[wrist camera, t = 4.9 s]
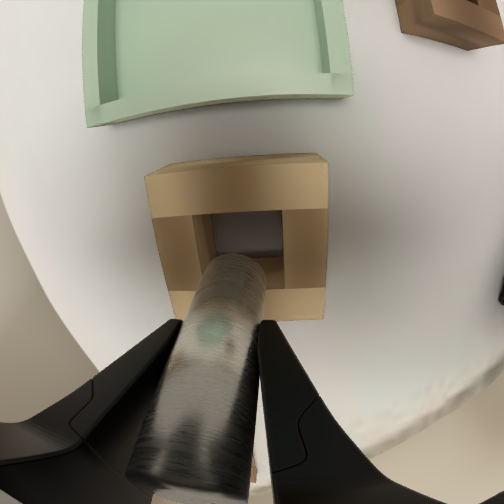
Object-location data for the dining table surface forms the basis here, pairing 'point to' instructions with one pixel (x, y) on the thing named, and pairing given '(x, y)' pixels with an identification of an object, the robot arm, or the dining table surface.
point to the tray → (209, 54)
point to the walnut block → (453, 21)
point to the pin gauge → (207, 393)
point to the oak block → (242, 200)
